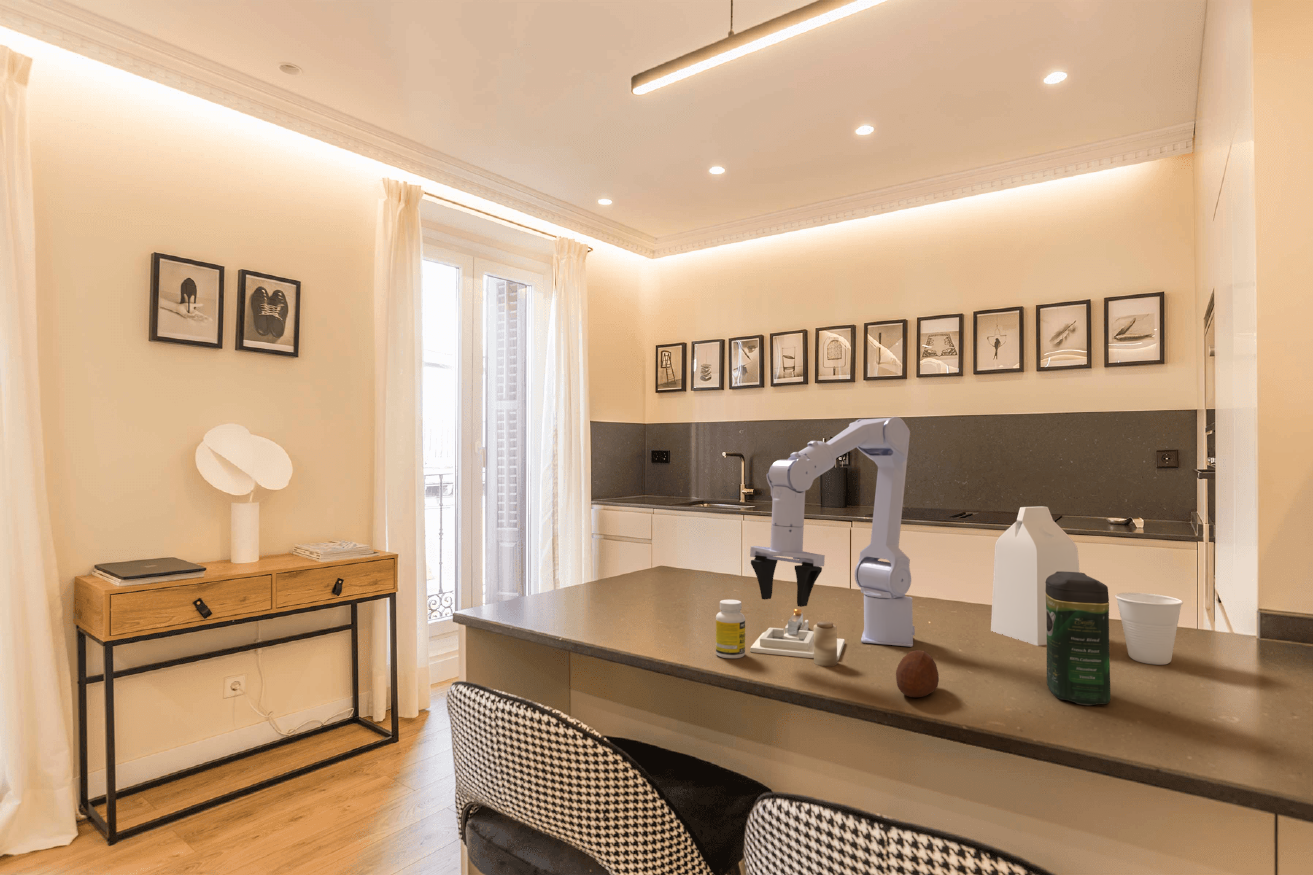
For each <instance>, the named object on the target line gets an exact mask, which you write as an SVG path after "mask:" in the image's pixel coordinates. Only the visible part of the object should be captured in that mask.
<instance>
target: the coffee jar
mask: <svg viewBox="0 0 1313 875" xmlns="http://www.w3.org/2000/svg"><path fill="white" fill-rule="evenodd" d="M1045 583H1046V590H1045V591H1046V620H1047V645H1046V685H1047V687H1048V689H1049V691H1050V692H1051V694H1053V696H1055V697H1056V698H1057V699H1059V700H1064V701H1065V700H1066V701H1069V702H1073V703H1075V704H1077V705H1083V706H1094V705H1107V704H1108V703H1110V701H1111V665H1110V663H1111V662H1110V659H1111V658H1110V655H1111V654H1110V599H1109V598H1110V596H1109V589H1108V588H1109V587H1108V586H1107V585H1106V584H1105V583H1103V582H1101V581H1099V580H1097V579H1095V578H1093V577H1091V576H1088V575H1087V574H1086V573H1084V572H1080V571H1079V572H1064V571H1057V572H1056V573H1055V574H1052V575H1050V576H1049V577H1047V579H1046V582H1045Z"/></svg>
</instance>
